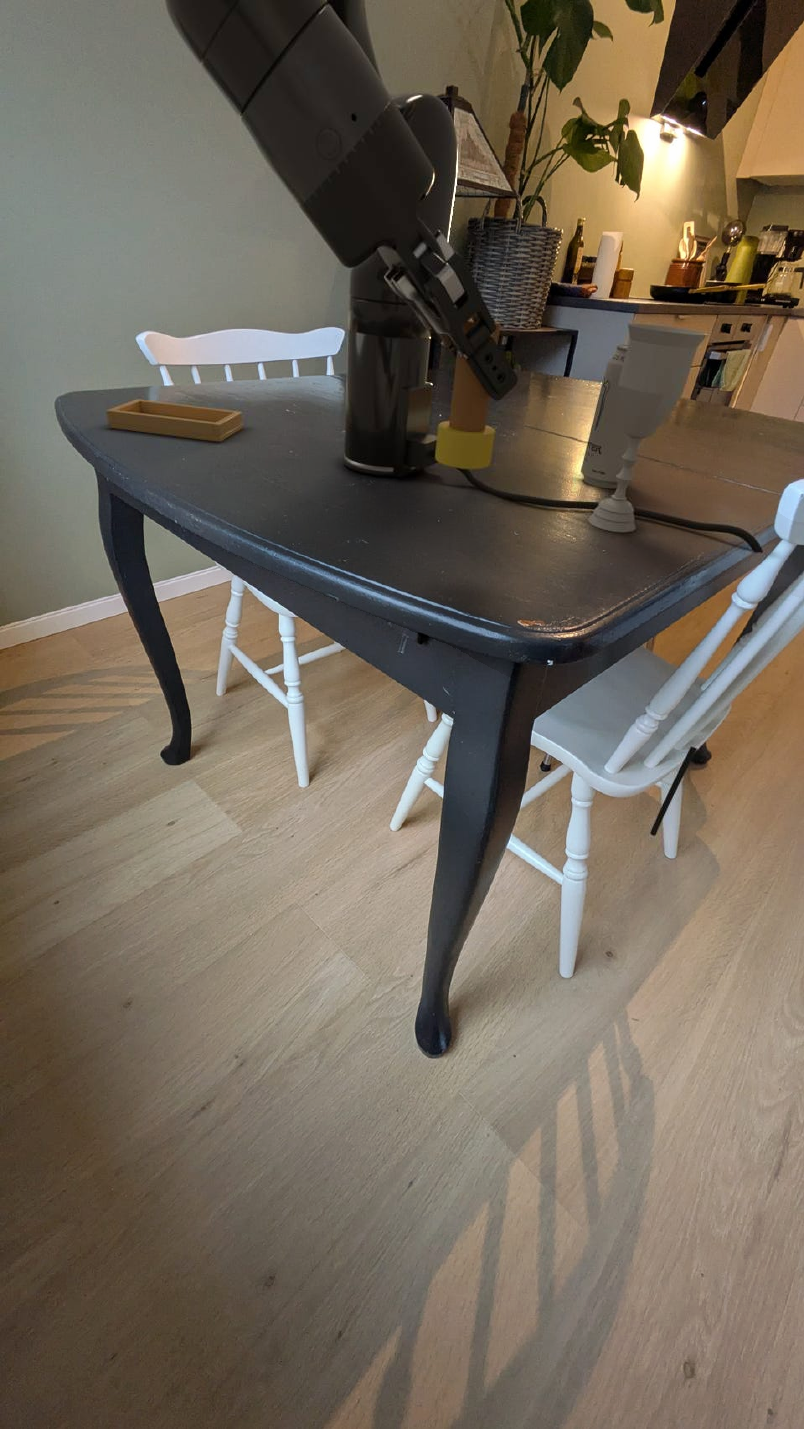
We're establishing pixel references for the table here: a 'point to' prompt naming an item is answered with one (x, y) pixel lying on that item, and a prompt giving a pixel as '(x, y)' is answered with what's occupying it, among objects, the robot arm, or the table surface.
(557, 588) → the table surface
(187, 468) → the table surface
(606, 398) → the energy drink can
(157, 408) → the tray
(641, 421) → the chalice
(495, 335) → the peg on yellow base
